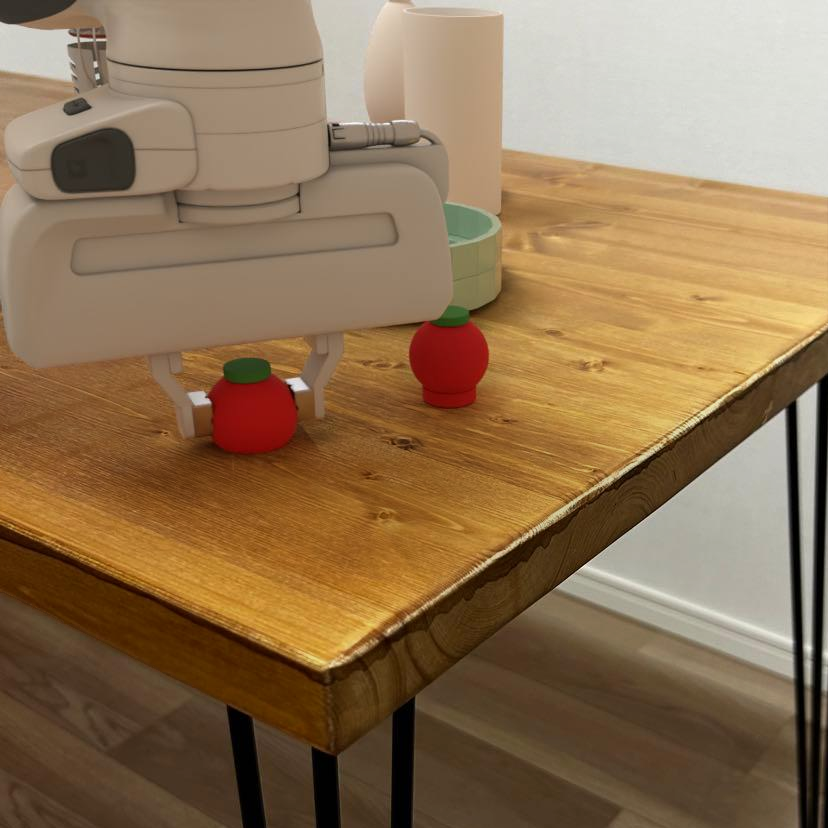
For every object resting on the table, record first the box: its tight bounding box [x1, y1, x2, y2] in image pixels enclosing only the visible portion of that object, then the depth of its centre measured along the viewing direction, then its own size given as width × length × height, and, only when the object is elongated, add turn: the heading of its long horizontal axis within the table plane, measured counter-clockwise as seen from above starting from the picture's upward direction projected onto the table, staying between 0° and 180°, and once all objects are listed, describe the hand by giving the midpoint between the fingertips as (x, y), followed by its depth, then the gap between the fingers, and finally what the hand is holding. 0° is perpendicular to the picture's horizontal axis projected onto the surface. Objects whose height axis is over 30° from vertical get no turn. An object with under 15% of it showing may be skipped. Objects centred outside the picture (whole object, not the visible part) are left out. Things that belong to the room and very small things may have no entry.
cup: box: [403, 6, 505, 216], centre depth 101 cm, size 8×8×16 cm
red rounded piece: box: [408, 305, 490, 409], centre depth 66 cm, size 4×4×5 cm
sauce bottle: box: [363, 0, 418, 124], centre depth 123 cm, size 8×8×18 cm
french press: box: [66, 26, 109, 96], centre depth 129 cm, size 10×12×25 cm
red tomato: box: [207, 357, 298, 455], centre depth 58 cm, size 4×4×5 cm
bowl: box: [443, 201, 503, 312], centre depth 82 cm, size 14×14×5 cm
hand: (251, 425), depth 58 cm, fingers closed on red tomato, 4 cm apart
